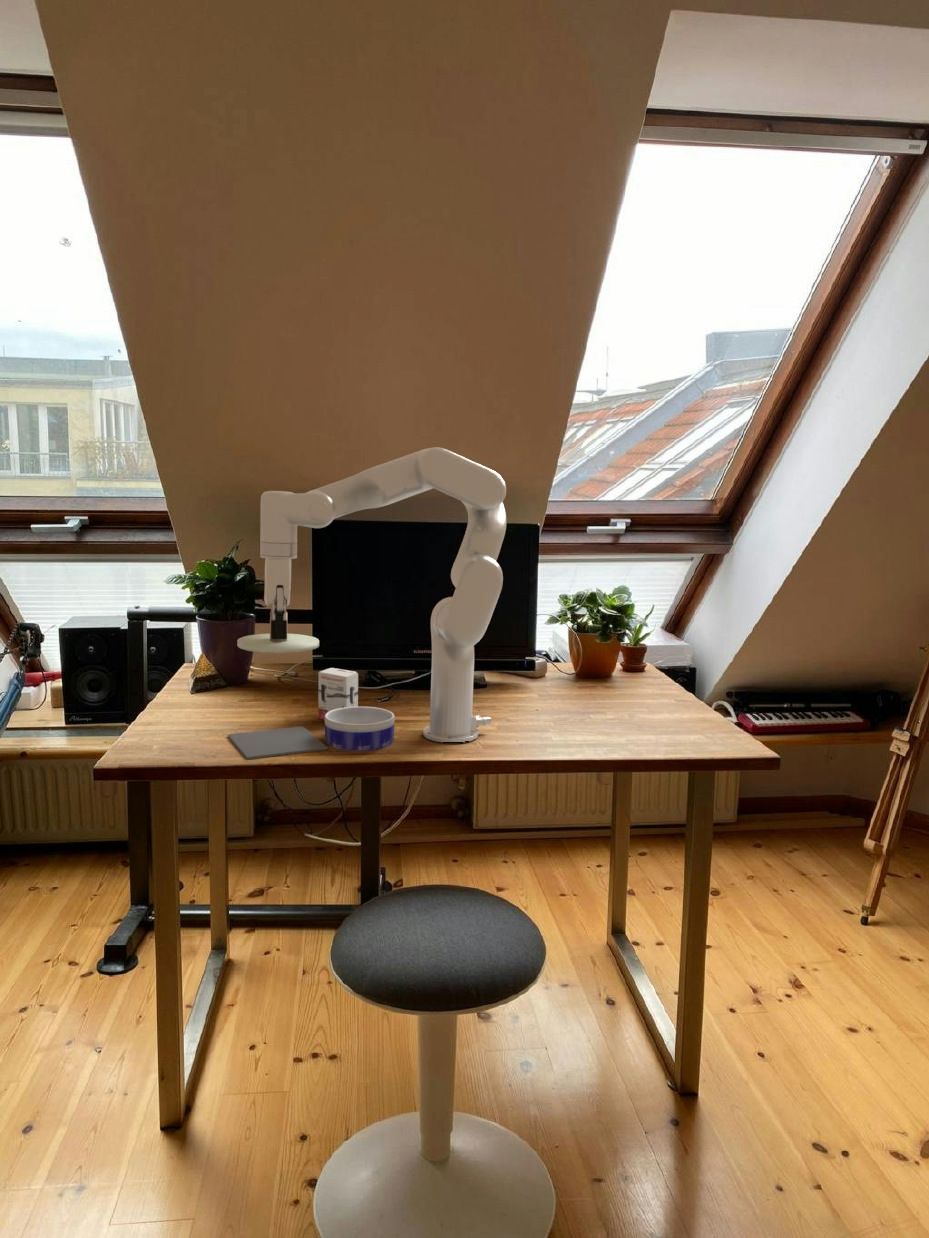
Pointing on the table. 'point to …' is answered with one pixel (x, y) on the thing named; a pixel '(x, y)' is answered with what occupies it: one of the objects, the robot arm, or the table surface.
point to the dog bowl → (359, 728)
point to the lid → (278, 642)
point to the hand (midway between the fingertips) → (278, 636)
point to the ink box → (336, 690)
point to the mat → (276, 742)
